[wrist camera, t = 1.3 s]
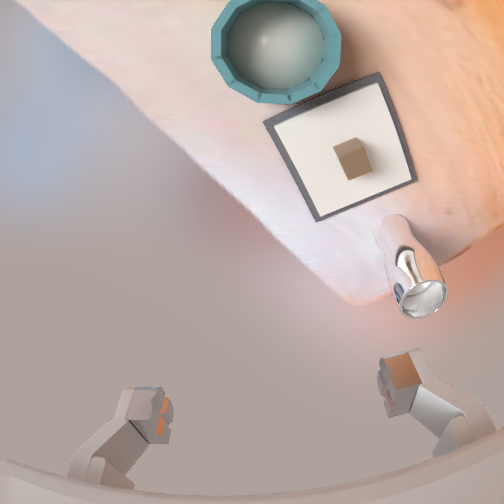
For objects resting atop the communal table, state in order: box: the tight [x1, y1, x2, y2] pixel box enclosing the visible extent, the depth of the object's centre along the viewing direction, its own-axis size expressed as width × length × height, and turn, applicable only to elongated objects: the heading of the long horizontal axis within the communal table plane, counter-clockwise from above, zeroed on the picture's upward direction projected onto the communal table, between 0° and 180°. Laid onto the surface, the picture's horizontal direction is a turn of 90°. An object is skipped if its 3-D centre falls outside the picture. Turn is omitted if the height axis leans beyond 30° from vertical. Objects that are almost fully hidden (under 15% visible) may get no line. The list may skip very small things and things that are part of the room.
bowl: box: [211, 0, 342, 104], centre depth 29 cm, size 13×13×6 cm
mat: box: [263, 72, 417, 222], centre depth 39 cm, size 16×16×1 cm
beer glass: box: [373, 215, 448, 319], centre depth 40 cm, size 7×7×15 cm
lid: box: [274, 83, 411, 217], centre depth 36 cm, size 14×14×5 cm
